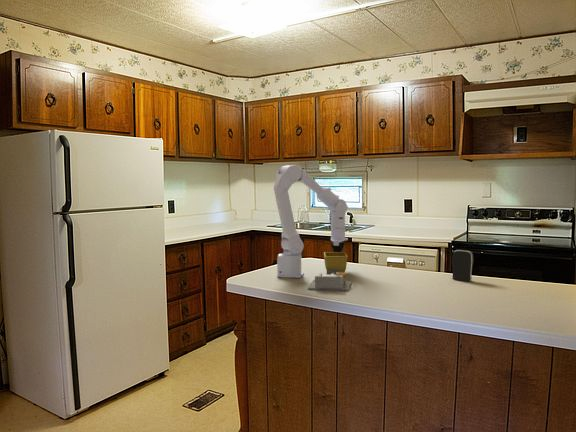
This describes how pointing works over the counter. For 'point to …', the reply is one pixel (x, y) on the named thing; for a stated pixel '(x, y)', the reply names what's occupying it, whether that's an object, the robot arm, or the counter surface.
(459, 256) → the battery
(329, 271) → the plunger
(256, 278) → the counter surface
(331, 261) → the flower pot
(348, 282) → the gauge housing
